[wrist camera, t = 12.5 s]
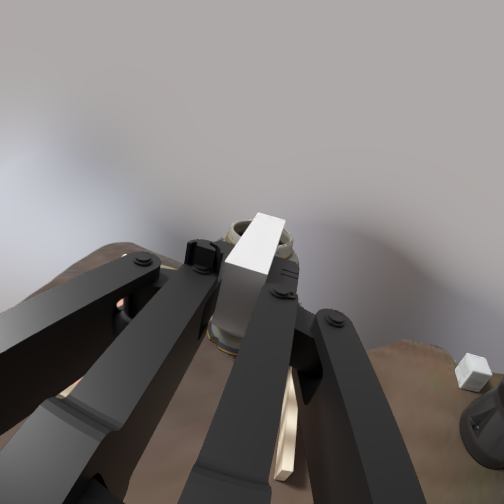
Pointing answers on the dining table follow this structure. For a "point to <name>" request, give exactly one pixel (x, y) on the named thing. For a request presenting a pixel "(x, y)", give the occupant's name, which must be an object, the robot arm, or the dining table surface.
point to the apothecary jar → (219, 335)
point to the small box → (473, 373)
